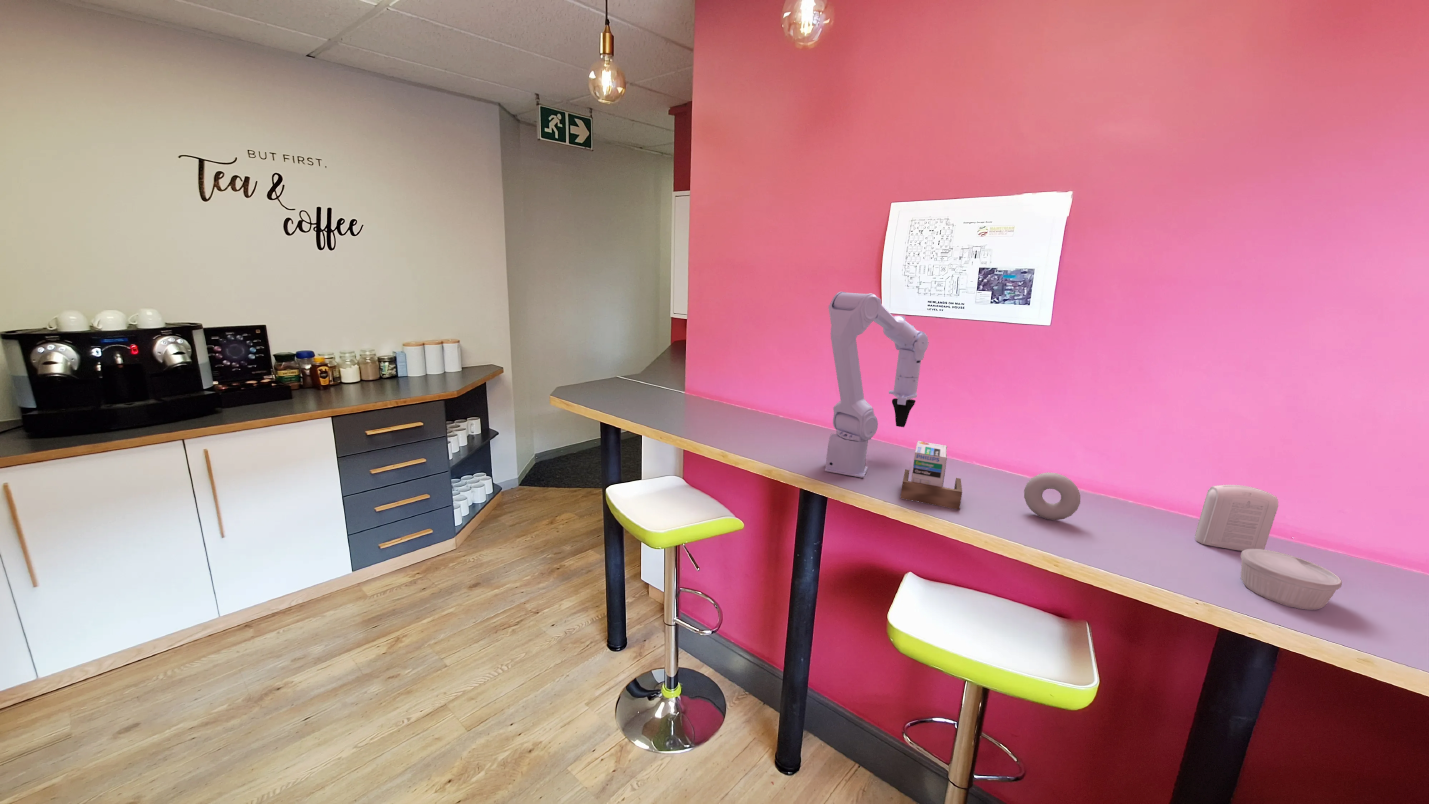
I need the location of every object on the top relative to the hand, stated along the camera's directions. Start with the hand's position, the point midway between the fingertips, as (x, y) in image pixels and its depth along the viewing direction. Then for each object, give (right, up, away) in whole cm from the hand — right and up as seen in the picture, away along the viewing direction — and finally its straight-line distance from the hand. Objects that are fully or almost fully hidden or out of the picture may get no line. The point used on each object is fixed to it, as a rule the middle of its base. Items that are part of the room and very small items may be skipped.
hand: (900, 426), depth 144 cm
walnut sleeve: (-1, -15, -22) cm, 27 cm away
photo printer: (+50, -22, -40) cm, 67 cm away
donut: (+20, -18, -31) cm, 41 cm away
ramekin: (+43, -25, -56) cm, 75 cm away
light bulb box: (-2, -15, -21) cm, 25 cm away
